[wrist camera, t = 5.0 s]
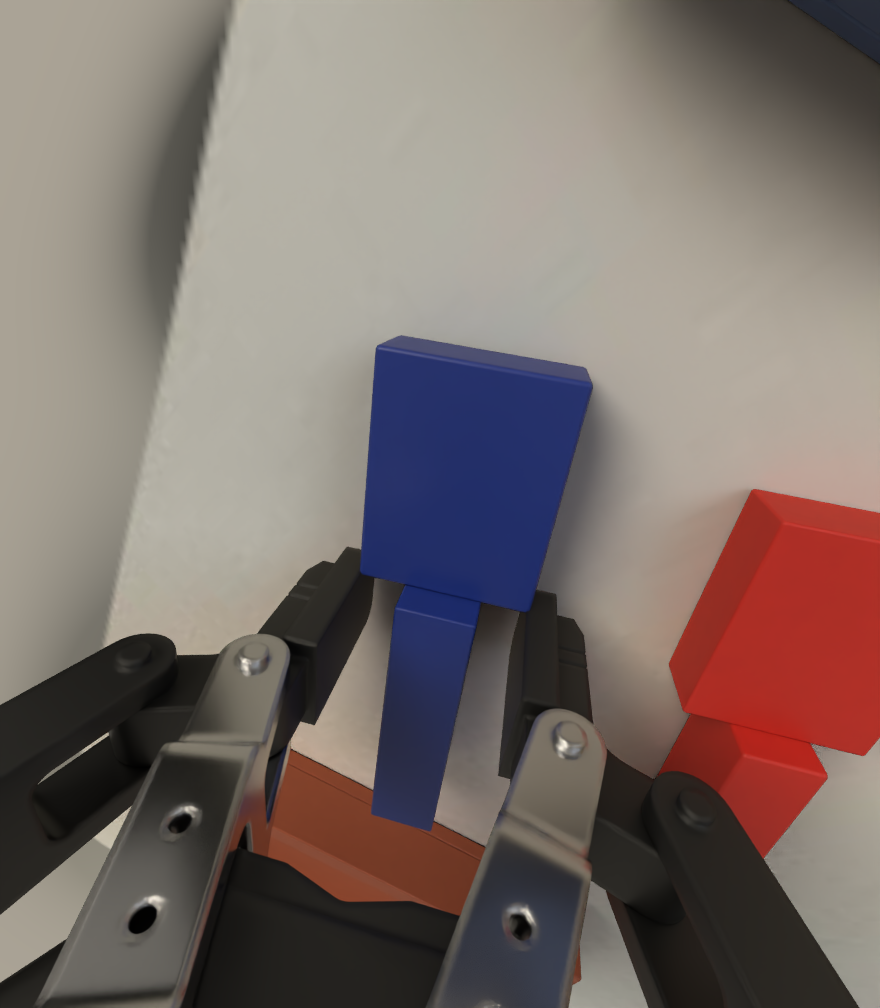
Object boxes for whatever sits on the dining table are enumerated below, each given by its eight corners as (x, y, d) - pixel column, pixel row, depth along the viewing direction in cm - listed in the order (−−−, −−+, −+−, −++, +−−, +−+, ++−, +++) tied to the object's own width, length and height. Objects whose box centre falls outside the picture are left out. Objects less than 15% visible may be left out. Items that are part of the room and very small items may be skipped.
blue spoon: (479, 766, 16) (468, 844, 14) (361, 734, 16) (333, 804, 14) (587, 366, 10) (599, 393, 8) (398, 334, 10) (359, 350, 8)
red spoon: (712, 863, 16) (737, 955, 14) (588, 828, 16) (594, 912, 14) (954, 526, 10) (1065, 596, 8) (751, 487, 10) (803, 543, 8)
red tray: (167, 825, 22) (124, 888, 20) (208, 707, 17) (160, 771, 15) (465, 972, 22) (456, 1049, 20) (577, 893, 18) (582, 980, 16)
